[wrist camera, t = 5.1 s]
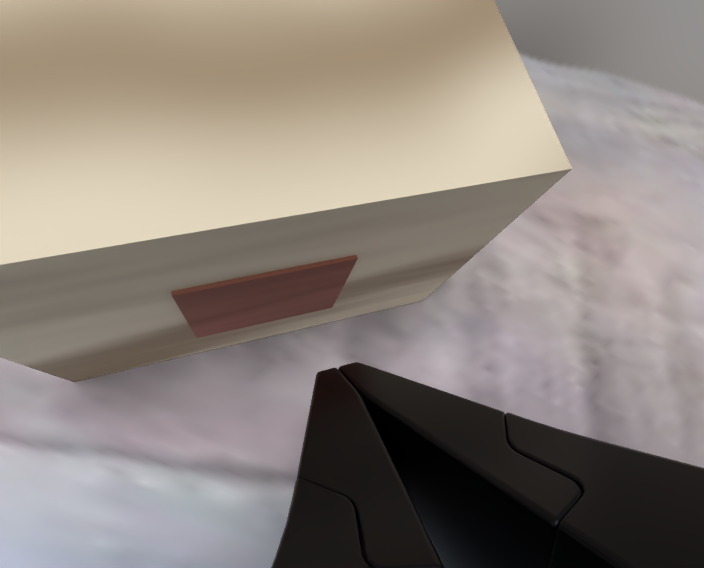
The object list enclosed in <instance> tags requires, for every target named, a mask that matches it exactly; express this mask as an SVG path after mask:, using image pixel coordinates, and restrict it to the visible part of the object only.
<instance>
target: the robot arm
mask: <svg viewBox="0 0 704 568" xmlns="http://www.w3.org/2000/svg"><path fill="white" fill-rule="evenodd" d="M271 568H704V468H701V467H697V466H694V465H690V464H686V463H682V462H678V461H675V460H671V459H667V458H663V457H660V456H656V455H652V454H648V453H644V452H641V451H637V450H633V449H629V448H625V447H622V446H618V445H614V444H610V443H607V442H603V441H599V440H595V439H592V438H588V437H585V436H581V435H577V434H574V433H570V432H567V431H563V430H560V429H557V428H553V427H550V426H547V425H544V424H541V423H538V422H534V421H531V420H528V419H525V418H522V417H519V416H517V415H514V414H511V413H506V414H505V413H504V412H502V411H500V410H497V409H494V408H491V407H488V406H485V405H482V404H479V403H476V402H473V401H470V400H467V399H464V398H461V397H459V396H456V395H453V394H450V393H447V392H444V391H441V390H438V389H435V388H432V387H429V386H426V385H423V384H420V383H417V382H414V381H412V380H409V379H406V378H403V377H400V376H397V375H394V374H391V373H388V372H385V371H382V370H379V369H376V368H373V367H370V366H368V365H365V364H362V363H358V362H355V363H351V364H347V365H343V366H341V367H339V369H337V368H332V369H328V370H324V371H320V372H318V373H317V375H316V379H315V385H314V390H313V395H312V400H311V406H310V411H309V416H308V421H307V427H306V432H305V437H304V442H303V448H302V453H301V458H300V463H299V469H298V474H297V480H296V482H295V487H294V492H293V497H292V501H291V506H290V510H289V514H288V518H287V522H286V526H285V529H284V532H283V535H282V538H281V541H280V544H279V547H278V550H277V553H276V556H275V559H274V562H273V565H272V567H271Z"/></svg>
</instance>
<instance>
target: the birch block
mask: <svg viewBox="0 0 704 568" xmlns="http://www.w3.org/2000/svg"><path fill="white" fill-rule="evenodd" d="M571 169H572V168H571V165H570V163H569V161H568V159H567V157H566V155H565V153H564V150H563V148H562V146H561V144H560V142H559V140H558V137H557V135H556V133H555V131H554V129H553V127H552V124H551V122H550V120H549V118H548V116H547V114H546V112H545V109H544V107H543V105H542V103H541V101H540V99H539V96H538V94H537V92H536V90H535V88H534V86H533V84H532V81H531V79H530V77H529V75H528V73H527V71H526V68H525V66H524V64H523V62H522V60H521V58H520V55H519V53H518V51H517V49H516V47H515V45H514V43H513V41H512V38H511V36H510V34H509V32H508V30H507V28H506V25H505V24H504V21H503V19H502V17H501V15H500V12H499V10H498V8H497V6H496V4H495V2H494V0H0V357H1V358H4V359H7V360H10V361H13V362H16V363H19V364H22V365H25V366H28V367H31V368H33V369H36V370H39V371H42V372H45V373H48V374H51V375H54V376H57V377H60V378H63V379H66V380H69V381H72V382H76V381H81V380H85V379H89V378H94V377H98V376H102V375H106V374H111V373H115V372H119V371H123V370H128V369H132V368H136V367H141V366H145V365H149V364H153V363H158V362H162V361H166V360H171V359H175V358H179V357H183V356H188V355H192V354H196V353H201V352H205V351H209V350H213V349H218V348H222V347H226V346H231V345H235V344H239V343H243V342H248V341H252V340H256V339H261V338H265V337H269V336H273V335H278V334H282V333H286V332H291V331H295V330H299V329H303V328H308V327H312V326H316V325H321V324H325V323H329V322H333V321H338V320H342V319H346V318H351V317H355V316H359V315H363V314H368V313H372V312H376V311H380V310H385V309H389V308H393V307H398V306H402V305H406V304H410V303H415V302H419V301H423V300H425V299H426V298H427V297H428V296H429V295H430V294H431V293H432V292H434V291H435V290H436V289H437V288H438V287H439V286H440V285H441V284H443V283H444V282H445V281H446V280H447V279H448V278H449V277H450V276H452V275H453V274H454V273H455V272H456V271H457V270H458V269H459V268H461V267H462V266H463V265H464V264H465V263H466V262H467V261H469V260H470V259H471V258H472V257H473V256H474V255H475V254H476V253H478V252H479V251H480V250H481V249H482V248H483V247H484V246H485V245H487V244H488V243H489V242H490V241H491V240H492V239H493V238H494V237H496V236H497V235H498V234H499V233H500V232H501V231H502V230H503V229H505V228H506V227H507V226H508V225H509V224H510V223H511V222H513V221H514V220H515V219H516V218H517V217H518V216H519V215H520V214H522V213H523V212H524V211H525V210H526V209H527V208H528V207H529V206H531V205H532V204H533V203H534V202H535V201H536V200H537V199H538V198H540V197H541V196H542V195H543V194H544V193H545V192H546V191H547V190H549V189H550V188H551V187H552V186H553V185H554V184H555V183H557V182H558V181H559V180H560V179H561V178H562V177H563V176H564V175H566V174H567V173H568V172H569V171H570V170H571Z"/></svg>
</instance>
